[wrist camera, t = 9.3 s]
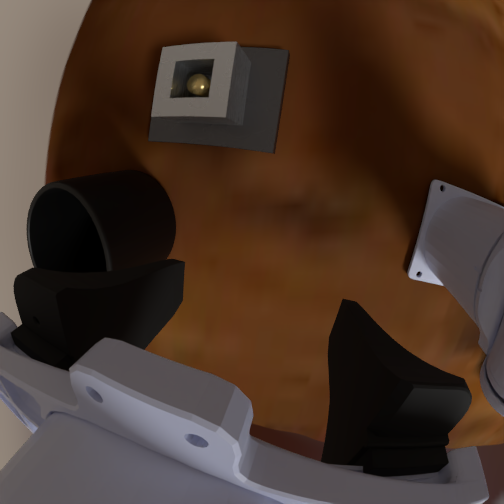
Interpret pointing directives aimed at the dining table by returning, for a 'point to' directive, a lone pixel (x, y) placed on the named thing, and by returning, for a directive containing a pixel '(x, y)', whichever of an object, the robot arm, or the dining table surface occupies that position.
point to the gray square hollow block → (221, 89)
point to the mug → (100, 223)
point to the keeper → (255, 115)
